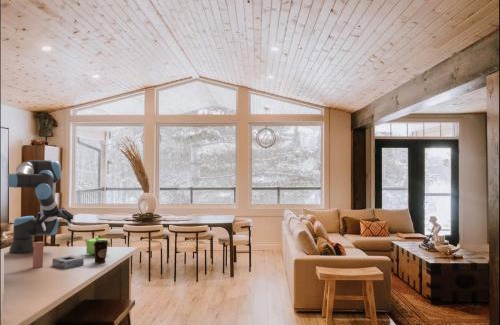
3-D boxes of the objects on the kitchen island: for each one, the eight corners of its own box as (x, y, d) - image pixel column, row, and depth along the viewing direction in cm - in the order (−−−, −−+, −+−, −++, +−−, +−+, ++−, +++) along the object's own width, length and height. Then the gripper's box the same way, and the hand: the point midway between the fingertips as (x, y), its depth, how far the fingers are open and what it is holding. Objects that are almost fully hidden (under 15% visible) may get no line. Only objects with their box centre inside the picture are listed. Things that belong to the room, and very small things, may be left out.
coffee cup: (110, 261, 246) (111, 240, 246) (101, 264, 238) (102, 242, 238) (99, 260, 249) (100, 239, 249) (89, 262, 241) (90, 241, 241)
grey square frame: (52, 265, 231) (52, 258, 231) (71, 261, 241) (71, 255, 241) (64, 268, 225) (64, 261, 225) (83, 265, 235) (83, 258, 235)
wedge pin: (31, 267, 225) (32, 242, 226) (40, 265, 230) (41, 241, 230) (35, 268, 224) (36, 243, 224) (43, 266, 228) (44, 242, 228)
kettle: (89, 257, 255) (90, 240, 255) (80, 253, 265) (81, 237, 265) (111, 254, 265) (112, 237, 266) (102, 251, 275) (102, 235, 276)
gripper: (23, 214, 216) (33, 235, 231) (73, 207, 223) (79, 229, 238) (24, 203, 221) (34, 225, 236) (73, 197, 228) (79, 219, 243)
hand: (57, 227), depth 237 cm, fingers open, 13 cm apart
